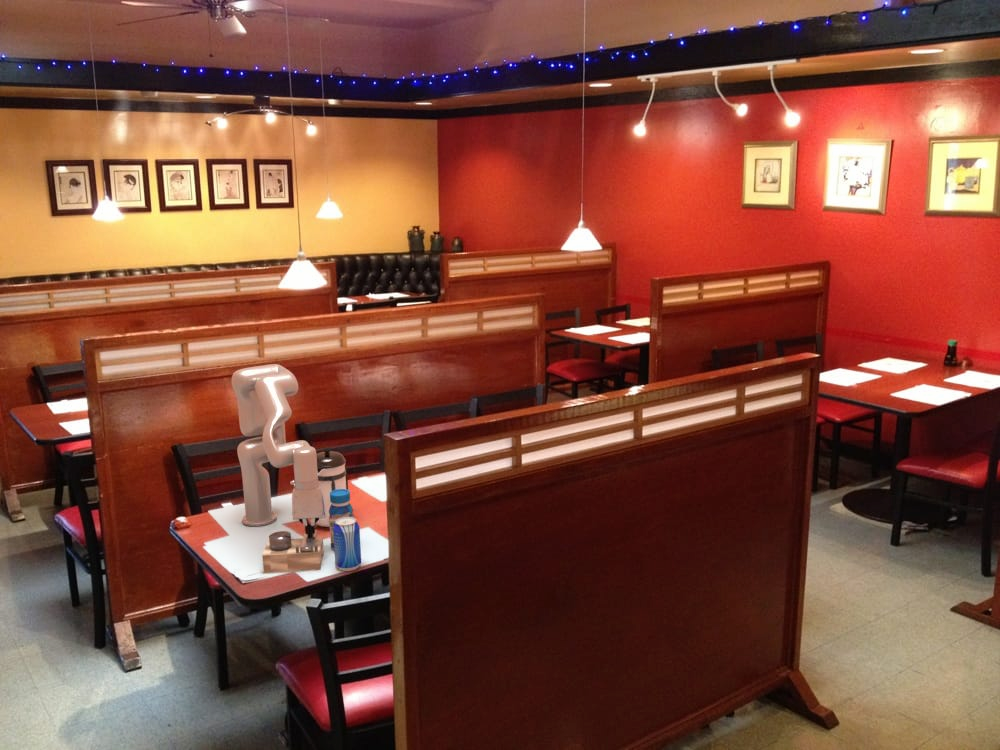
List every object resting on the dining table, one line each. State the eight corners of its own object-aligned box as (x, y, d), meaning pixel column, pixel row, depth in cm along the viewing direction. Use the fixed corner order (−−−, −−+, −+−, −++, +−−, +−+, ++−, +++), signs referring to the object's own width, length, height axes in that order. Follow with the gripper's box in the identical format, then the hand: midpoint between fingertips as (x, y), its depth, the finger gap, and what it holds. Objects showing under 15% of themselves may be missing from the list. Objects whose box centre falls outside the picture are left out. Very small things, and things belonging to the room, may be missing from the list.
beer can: (332, 563, 278) (330, 518, 274) (357, 559, 281) (355, 514, 278) (338, 574, 270) (336, 527, 267) (364, 569, 274) (361, 523, 270)
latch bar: (305, 533, 285) (305, 529, 285) (317, 533, 286) (317, 529, 285) (300, 552, 272) (300, 548, 272) (312, 552, 273) (312, 547, 272)
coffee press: (358, 528, 306) (354, 450, 299) (314, 536, 300) (309, 455, 293) (349, 512, 322) (344, 436, 315) (306, 518, 316) (301, 442, 309)
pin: (272, 558, 281) (270, 531, 279) (294, 557, 282) (292, 530, 280) (269, 567, 275) (267, 540, 272) (291, 566, 275) (289, 539, 273)
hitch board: (269, 556, 284) (268, 535, 282) (323, 553, 286) (322, 532, 284) (263, 572, 272) (261, 550, 270) (320, 569, 274) (318, 547, 272)
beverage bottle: (360, 544, 292) (357, 490, 288) (343, 553, 285) (340, 498, 281) (342, 539, 297) (339, 486, 292) (325, 548, 290) (321, 493, 285)
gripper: (281, 488, 273) (286, 541, 277) (328, 486, 275) (332, 538, 279) (285, 481, 280) (289, 532, 284) (330, 478, 282) (334, 530, 286)
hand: (310, 535), depth 281 cm, fingers closed
